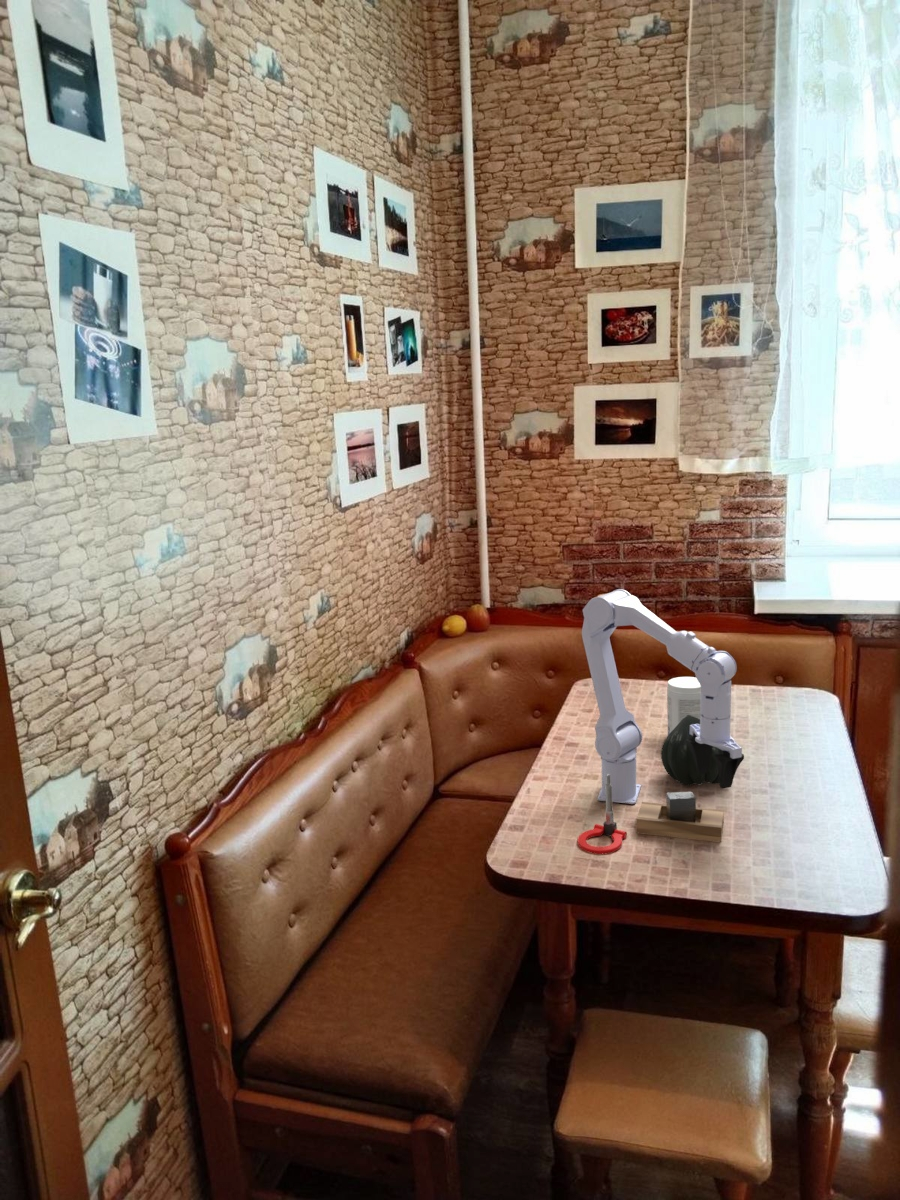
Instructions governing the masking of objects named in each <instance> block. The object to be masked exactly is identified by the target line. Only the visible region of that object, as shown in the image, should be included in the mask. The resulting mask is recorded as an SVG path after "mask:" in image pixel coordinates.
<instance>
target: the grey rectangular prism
mask: <svg viewBox="0 0 900 1200" xmlns="http://www.w3.org/2000/svg"><path fill="white" fill-rule="evenodd" d="M696 801H697V800H696V796H695V794H694V793H693V791H677V792H676V791H675V792H666V803H665V804H666V820H674V821H684V822H693V823H695V815H696V807H697V806H696V805H697V803H696Z"/></svg>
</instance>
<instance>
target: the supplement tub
mask: <svg viewBox="0 0 900 1200" xmlns="http://www.w3.org/2000/svg"><path fill="white" fill-rule="evenodd" d="M666 691H667V692H666V693H667V695H666V696H667V698H666V700H667V701H666V702H667V705H666V707H667V736H668V735H669V734H670V733H671V731H672V730H673V729H674V728H675V727H676V726H677V725H678V724H679V723H680V721H681V720H682V719H683V718H684V717H686V716H687V715H691V716H694V717H696V718H698V719H700V701H701V686H700V683H699V682H698V680H697V678H696V676H695V677H694V676H678V677H672V678H671V679H669V680H668V681H667V690H666Z"/></svg>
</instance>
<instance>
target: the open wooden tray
mask: <svg viewBox="0 0 900 1200" xmlns="http://www.w3.org/2000/svg"><path fill="white" fill-rule="evenodd" d="M724 816H725V809H718V808H709V807H708V808H707V807H699V806H696V815H695V823H693V822H684V821H674V820H666V803H659V802H658V803H657V802H650V801H649V802H648V801H641V804H640V807H639V809H638V813H637V816H636V822H635V823H636V826H635V827H636V834H642V835H651V836H659V837H669V838H679V839H689V840H697V841H698V840H699V841H707V842H715V843H722V838H723V833H724V832H723V830H724V824H725V823H724V819H725V817H724Z"/></svg>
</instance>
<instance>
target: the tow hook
mask: <svg viewBox="0 0 900 1200" xmlns="http://www.w3.org/2000/svg"><path fill="white" fill-rule="evenodd" d="M605 789H606V801H605V821H604V822H603V825H600V824H598V823H595V824H594V826H593V829H590V830H586V831H584V832H582V833H580V835H579V836H578V838H577V844H578V846H579V848H580V849H581V850H582V851H585V852H587V853H591V854H595V853H596V854H597V855H605V853H607V854H611V853H614V852H616V851H618V850H620V849H621V847H622V845H623V840H626V839H627V837H628V833H627V831H626V830H625V831H624V830H620V829H618V827H617V822H616V821H614V810H613V802H612V785H611V784H610V774H606V784H605ZM603 834H604V835H605V836H609V837H611V839H612V841H613V842H612V843H611V844H609V845H605V846H595V845H591V844H589V843H588V842H587V840H588V839H590V838H594V837H598V836H599V837H600V836H602V835H603ZM602 853H603V854H602Z"/></svg>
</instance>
